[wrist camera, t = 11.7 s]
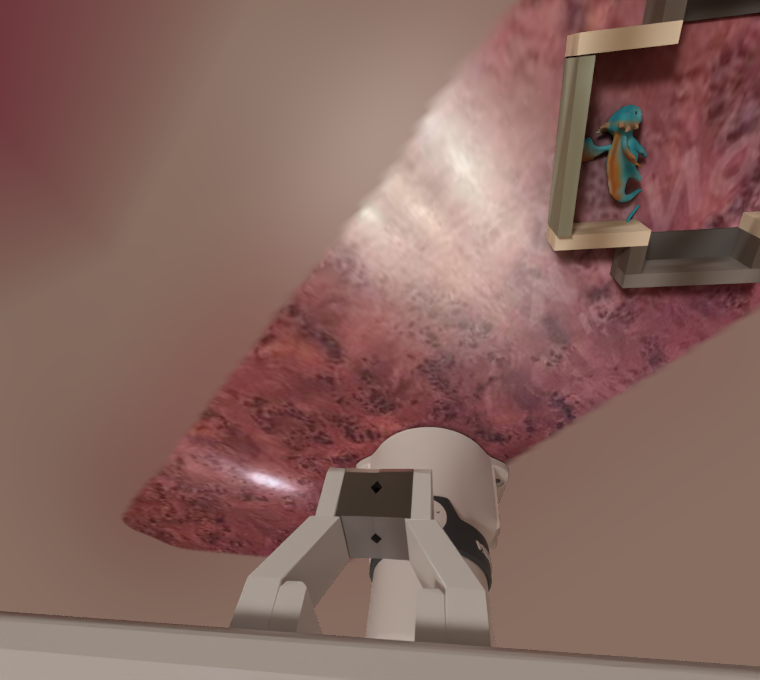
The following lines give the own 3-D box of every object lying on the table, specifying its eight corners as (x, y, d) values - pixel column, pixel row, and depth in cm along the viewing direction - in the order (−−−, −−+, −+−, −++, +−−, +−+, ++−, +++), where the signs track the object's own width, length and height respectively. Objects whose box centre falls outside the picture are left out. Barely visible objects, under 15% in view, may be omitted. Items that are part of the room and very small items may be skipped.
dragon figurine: (717, 153, 32) (671, 88, 28) (664, 244, 33) (612, 196, 29) (636, 153, 37) (587, 99, 33) (592, 231, 38) (539, 189, 34)
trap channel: (917, -81, 25) (981, -101, 22) (776, 266, 36) (806, 283, 33) (574, -32, 28) (591, -44, 25) (541, 277, 39) (550, 293, 36)
